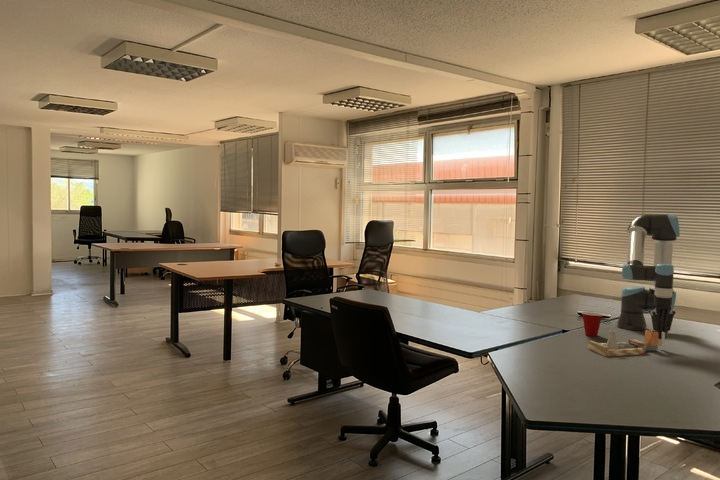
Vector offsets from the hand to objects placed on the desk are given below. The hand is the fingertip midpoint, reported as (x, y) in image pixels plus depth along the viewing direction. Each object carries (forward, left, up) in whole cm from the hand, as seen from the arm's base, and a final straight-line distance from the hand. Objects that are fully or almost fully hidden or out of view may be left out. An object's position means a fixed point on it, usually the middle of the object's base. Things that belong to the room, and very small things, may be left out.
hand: (660, 345), depth 260 cm
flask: (+27, 0, -2) cm, 27 cm away
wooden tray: (+24, 0, -2) cm, 24 cm away
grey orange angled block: (+13, 0, -2) cm, 14 cm away
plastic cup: (+15, -32, -2) cm, 35 cm away
